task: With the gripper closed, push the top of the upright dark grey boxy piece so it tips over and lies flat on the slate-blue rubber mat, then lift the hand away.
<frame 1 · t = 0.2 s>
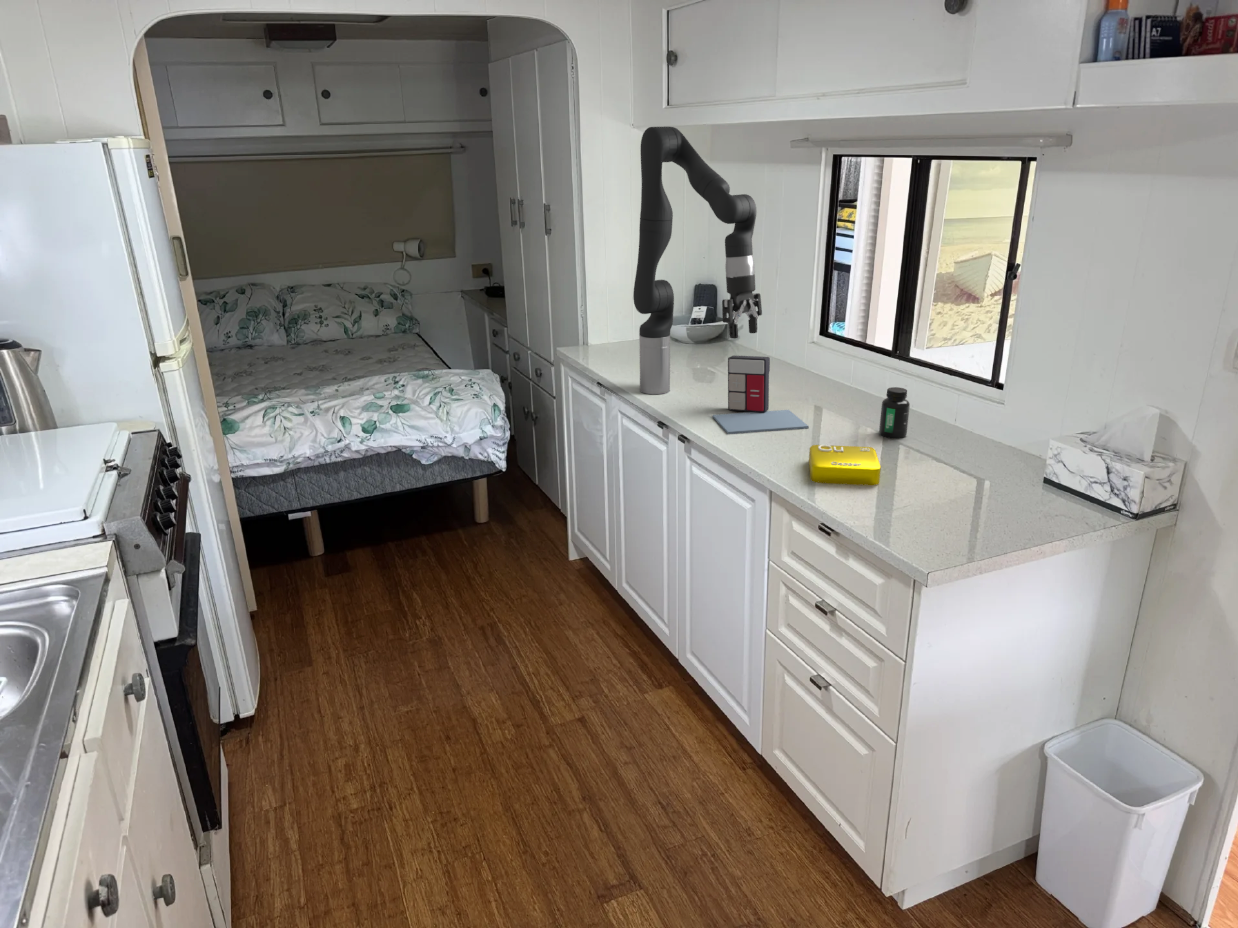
hand: (743, 335, 230), 22 cm above the countertop, tool pointing down, fingers open, 8 cm apart
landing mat: (759, 422, 232), on the countertop
supplement bottle: (892, 435, 220), on the countertop
dark grey boxy piece: (748, 411, 241), on the countertop, touching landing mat
element tile: (842, 474, 197), on the countertop
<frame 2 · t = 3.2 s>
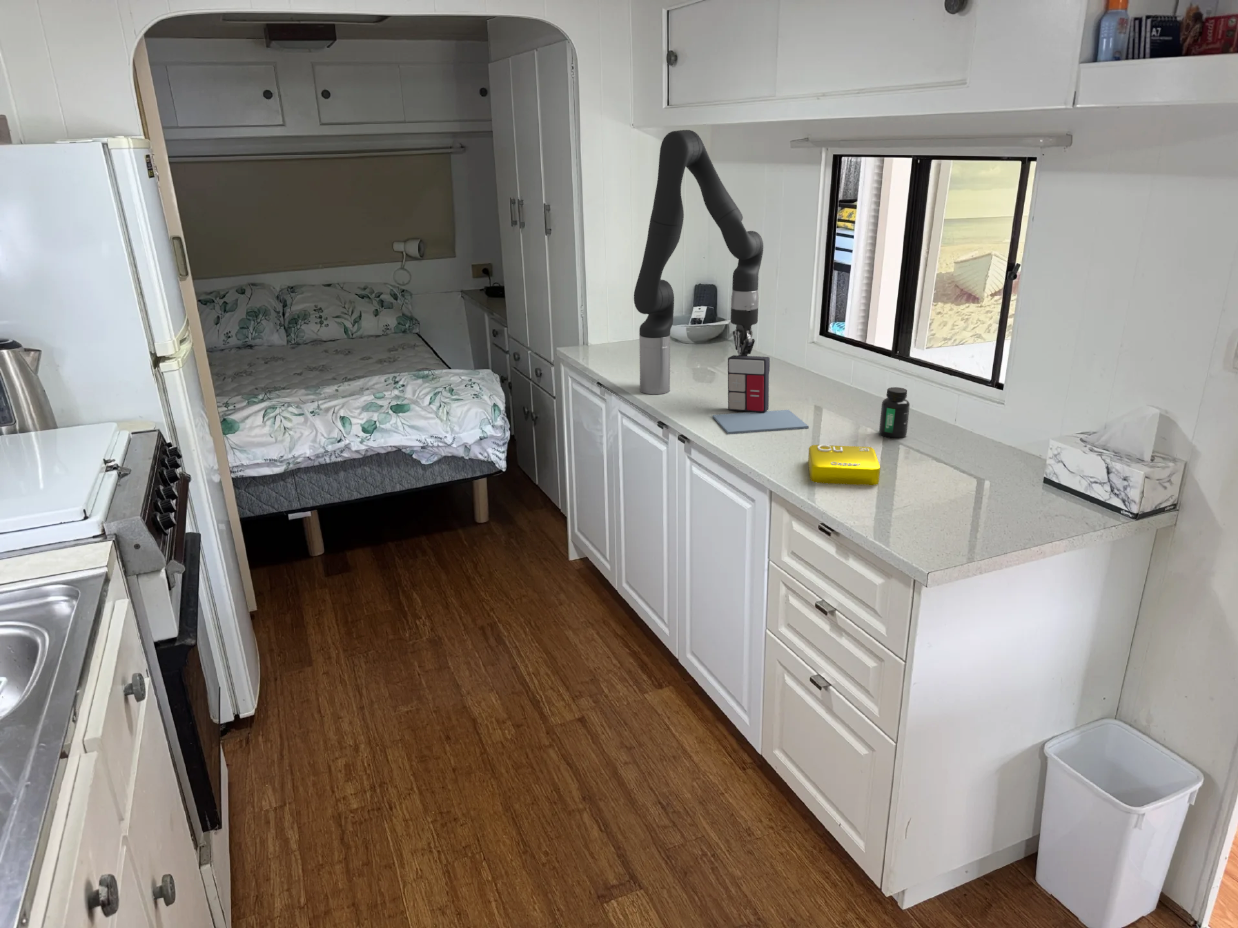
hand: (742, 367, 243), 11 cm above the countertop, tool pointing down, fingers closed
dark grey boxy piece: (748, 410, 241), on the countertop, touching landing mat
everything else where it was.
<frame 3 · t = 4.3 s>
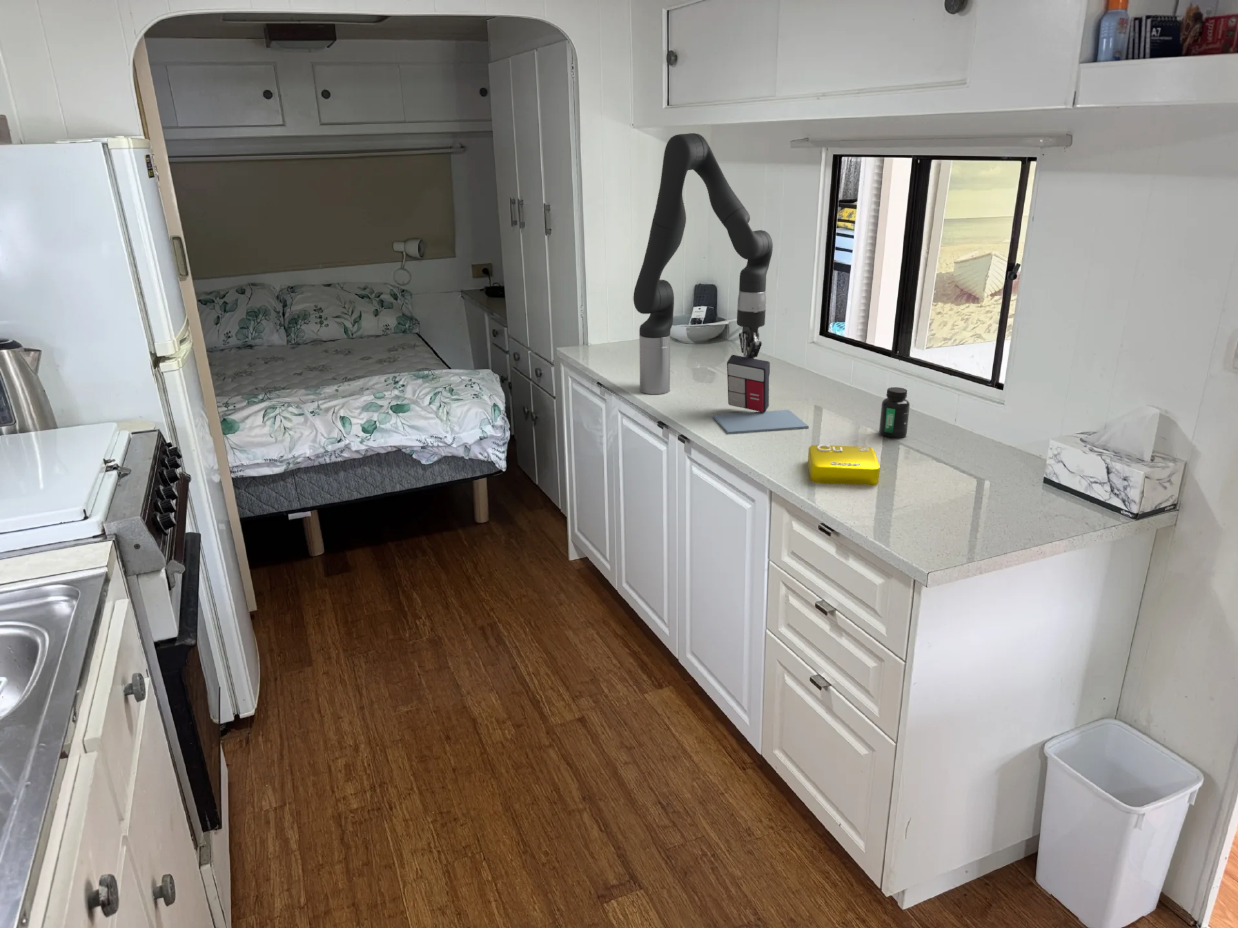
hand: (748, 370, 236), 12 cm above the countertop, tool pointing down, fingers closed
dark grey boxy piece: (748, 406, 240), point 2 cm above the countertop, touching gripper, hand, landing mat
everything else where it was.
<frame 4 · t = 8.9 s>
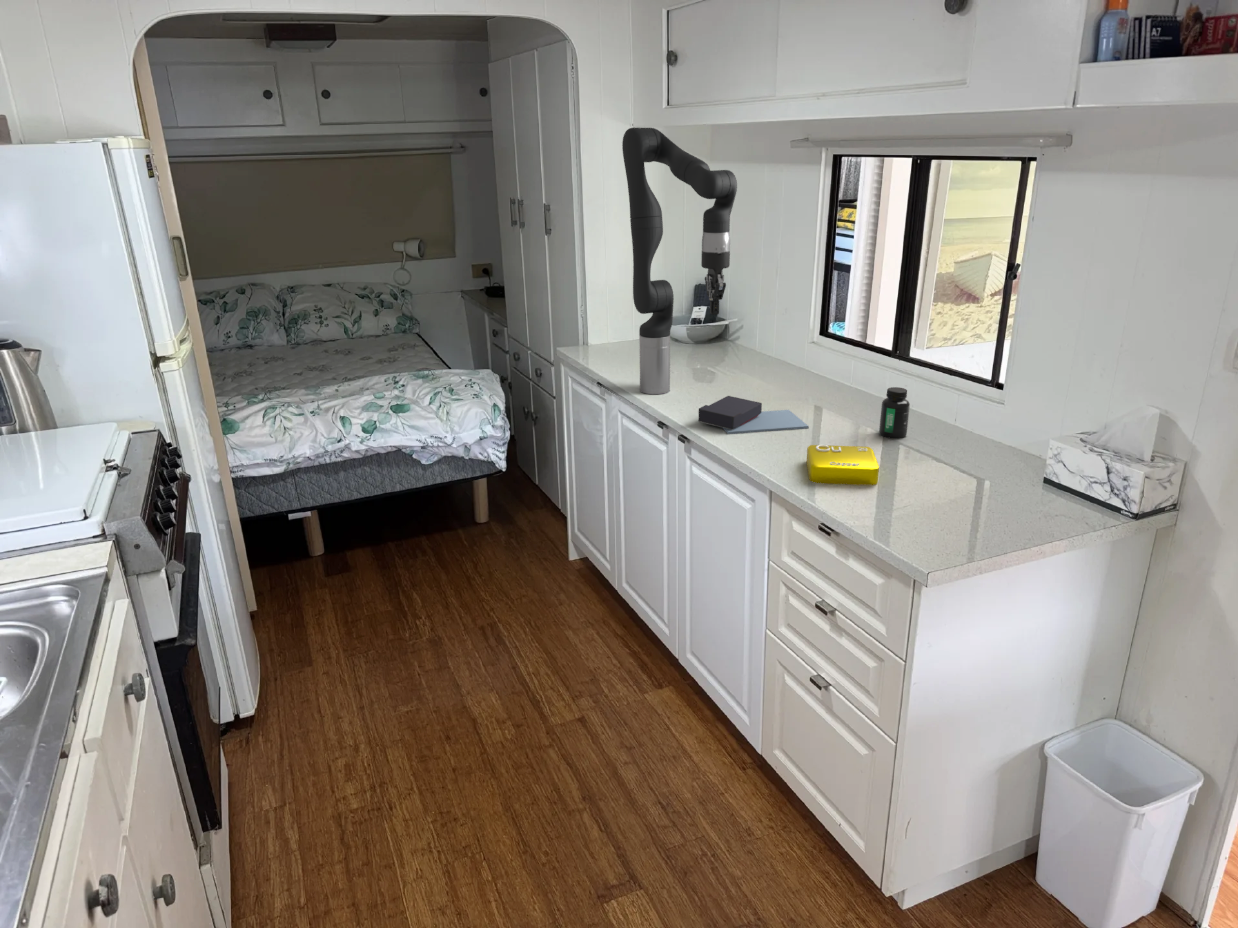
hand: (714, 314, 234), 27 cm above the countertop, tool pointing down, fingers closed
dark grey boxy piece: (745, 404, 237), point 3 cm above the countertop, touching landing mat
everything else where it was.
at the end: dark grey boxy piece tilted 93°; dark grey boxy piece touching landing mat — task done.
